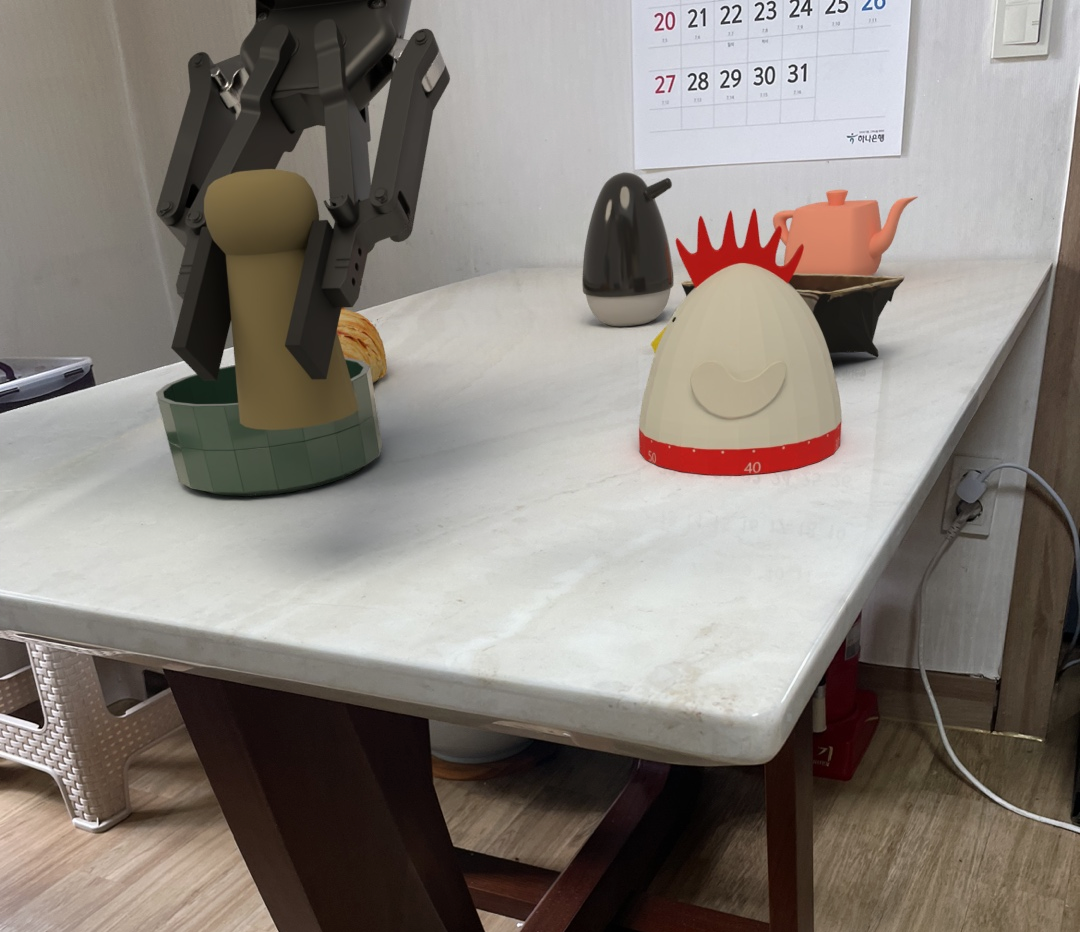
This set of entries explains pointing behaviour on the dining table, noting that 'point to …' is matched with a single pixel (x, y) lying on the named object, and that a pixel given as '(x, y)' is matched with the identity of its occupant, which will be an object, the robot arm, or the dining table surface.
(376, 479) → the dining table surface
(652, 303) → the pump dispenser
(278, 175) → the cork
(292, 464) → the green tiled bowl
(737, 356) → the kitchen timer
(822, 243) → the teapot
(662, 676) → the dining table surface
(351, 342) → the croissant
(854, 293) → the baking dish
